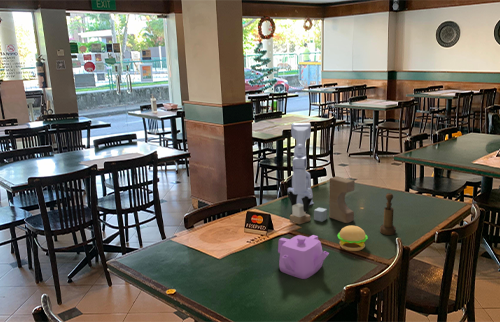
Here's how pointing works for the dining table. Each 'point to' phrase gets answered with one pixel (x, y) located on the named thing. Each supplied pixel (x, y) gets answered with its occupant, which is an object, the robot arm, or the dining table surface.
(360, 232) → the hamburger
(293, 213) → the cream block
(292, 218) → the walnut slab
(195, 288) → the dining table surface
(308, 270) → the teakettle
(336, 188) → the decorative block
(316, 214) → the slate block
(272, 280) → the dining table surface
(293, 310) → the dining table surface
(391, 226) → the brown wooden tall piece
